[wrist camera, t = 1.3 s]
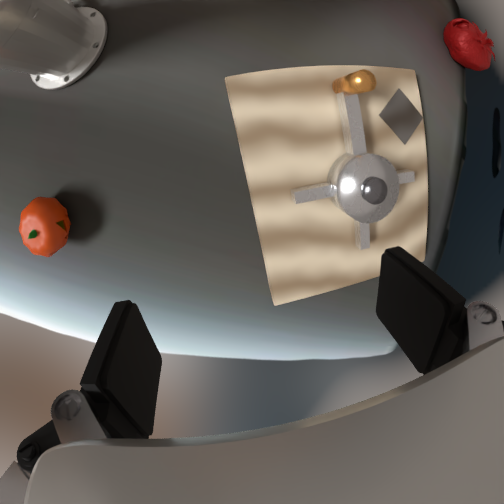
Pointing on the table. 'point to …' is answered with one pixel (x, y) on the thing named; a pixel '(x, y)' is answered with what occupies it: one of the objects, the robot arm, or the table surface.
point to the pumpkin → (44, 226)
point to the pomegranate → (468, 44)
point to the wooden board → (325, 172)
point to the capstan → (357, 166)
